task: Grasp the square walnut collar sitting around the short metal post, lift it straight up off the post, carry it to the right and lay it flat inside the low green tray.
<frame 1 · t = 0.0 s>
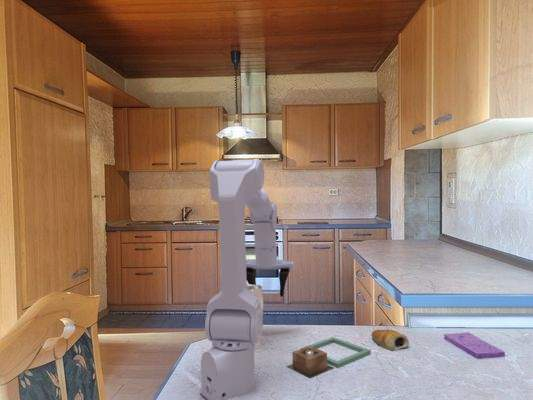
hand: (268, 294, 99), 11 cm above the countertop, tool pointing down, fingers open, 7 cm apart
grey peg base: (310, 373, 75), on the countertop
collar: (309, 367, 75), point 1 cm above the countertop, touching grey peg base
tray: (335, 358, 82), on the countertop
sponges: (472, 350, 87), on the countertop
pastry: (389, 346, 89), on the countertop
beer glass: (249, 350, 88), on the countertop
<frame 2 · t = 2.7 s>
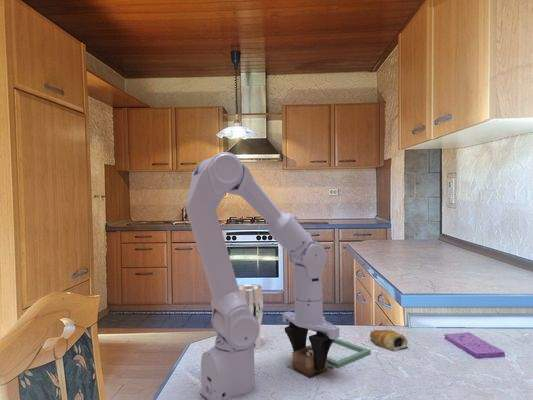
hand: (309, 364, 75), 2 cm above the countertop, tool pointing down, fingers closed on collar, 5 cm apart
collar: (309, 367, 75), point 1 cm above the countertop, touching gripper, grey peg base
everything else where it was.
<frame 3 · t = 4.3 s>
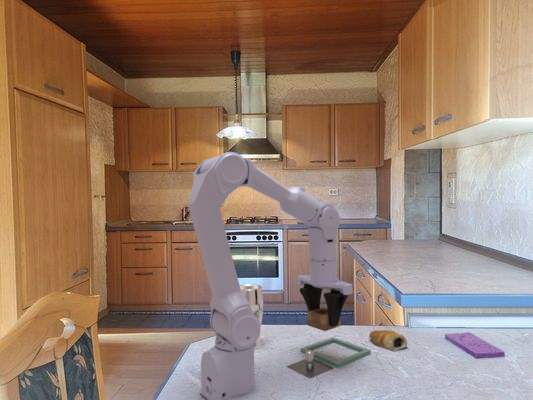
hand: (324, 322, 79), 9 cm above the countertop, tool pointing down, fingers closed on collar, 5 cm apart
collar: (324, 325, 79), point 8 cm above the countertop, touching gripper
everything else where it was.
when the fingers open (2 cm above the countertop, at t = 6.3 s): collar stays where it is, resting on tray.
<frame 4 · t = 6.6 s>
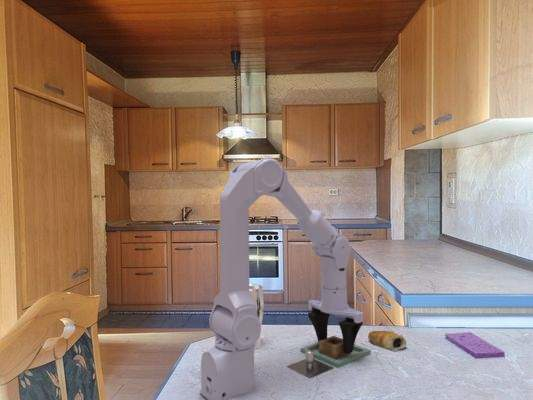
hand: (335, 347, 82), 2 cm above the countertop, tool pointing down, fingers open, 7 cm apart
collar: (335, 354, 82), point 1 cm above the countertop, touching tray
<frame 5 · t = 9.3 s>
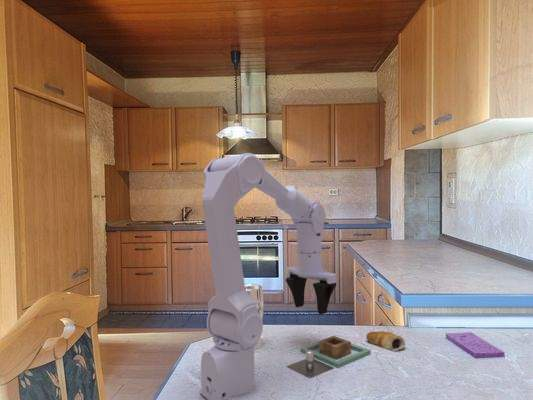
hand: (310, 309, 86), 10 cm above the countertop, tool pointing down, fingers open, 7 cm apart
at the end: collar inside the target area on the tray (0.1 cm from its centre), point 0.8 cm above the tray's base; collar tilted 0°; the gripper is holding nothing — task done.
